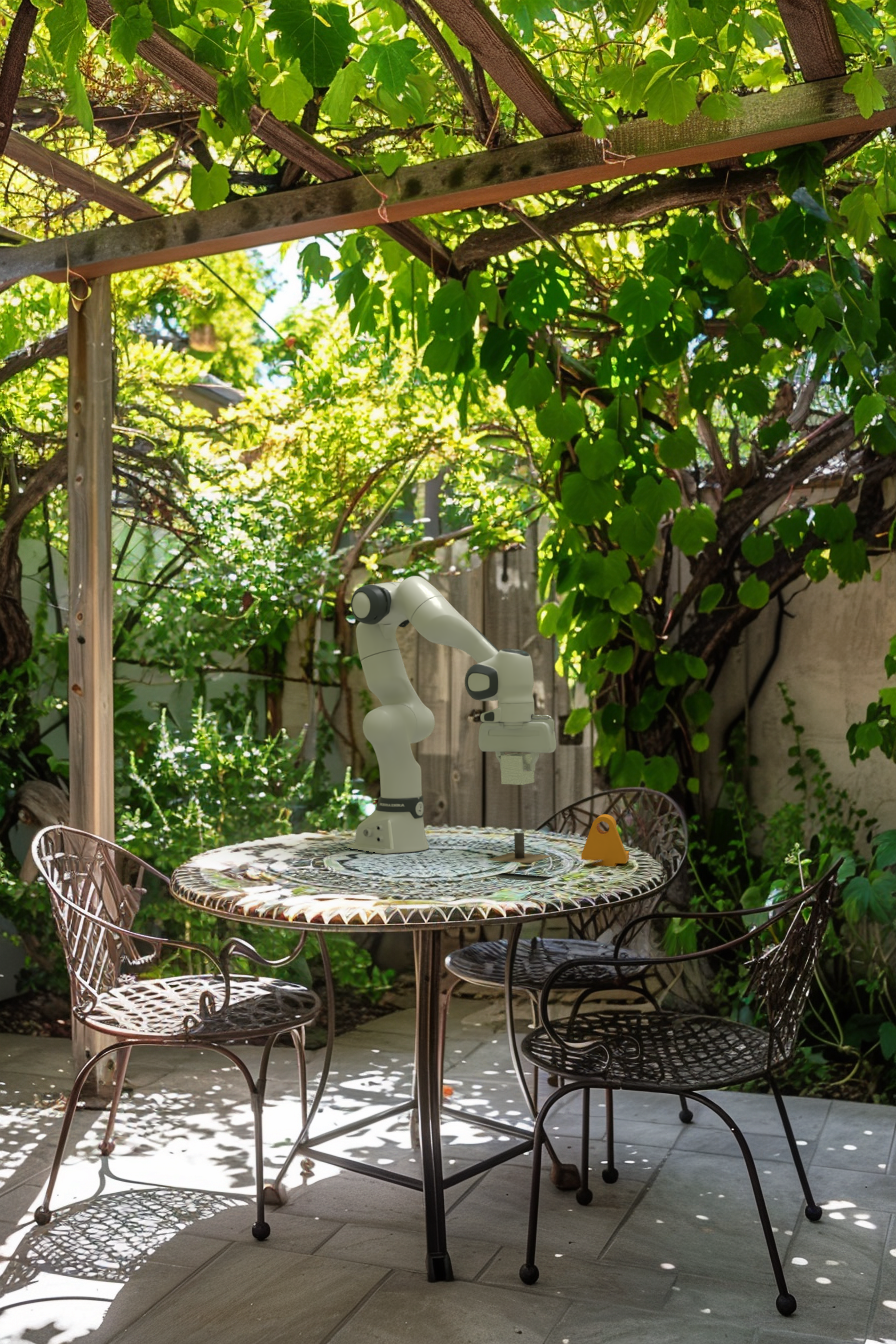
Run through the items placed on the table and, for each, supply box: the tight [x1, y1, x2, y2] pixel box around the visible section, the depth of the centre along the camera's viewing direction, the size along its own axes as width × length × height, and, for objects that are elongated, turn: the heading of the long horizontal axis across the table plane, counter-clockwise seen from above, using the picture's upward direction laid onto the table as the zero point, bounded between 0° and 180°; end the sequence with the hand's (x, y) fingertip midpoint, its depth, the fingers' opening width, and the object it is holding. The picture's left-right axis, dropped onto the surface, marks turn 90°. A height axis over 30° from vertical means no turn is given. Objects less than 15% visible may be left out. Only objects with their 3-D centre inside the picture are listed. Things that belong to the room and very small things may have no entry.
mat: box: [495, 872, 554, 882], centre depth 289 cm, size 12×12×1 cm
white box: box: [500, 753, 535, 786], centre depth 305 cm, size 6×6×7 cm
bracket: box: [580, 813, 630, 867], centre depth 303 cm, size 11×7×12 cm, turn 74°
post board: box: [487, 832, 552, 864], centre depth 306 cm, size 12×12×8 cm
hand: (517, 770), depth 305 cm, fingers closed on white box, 6 cm apart
